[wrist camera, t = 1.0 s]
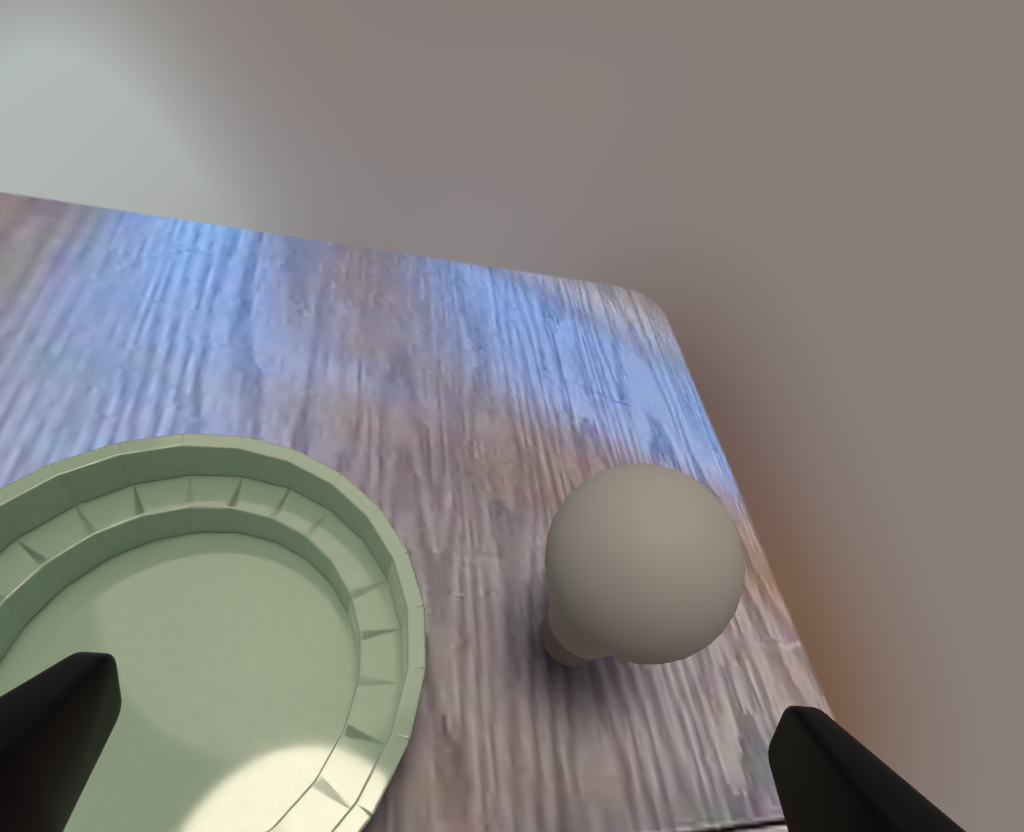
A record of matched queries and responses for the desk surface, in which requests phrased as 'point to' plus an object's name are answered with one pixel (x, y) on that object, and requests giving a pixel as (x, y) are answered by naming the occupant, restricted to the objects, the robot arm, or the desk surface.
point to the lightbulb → (639, 568)
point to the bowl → (219, 631)
